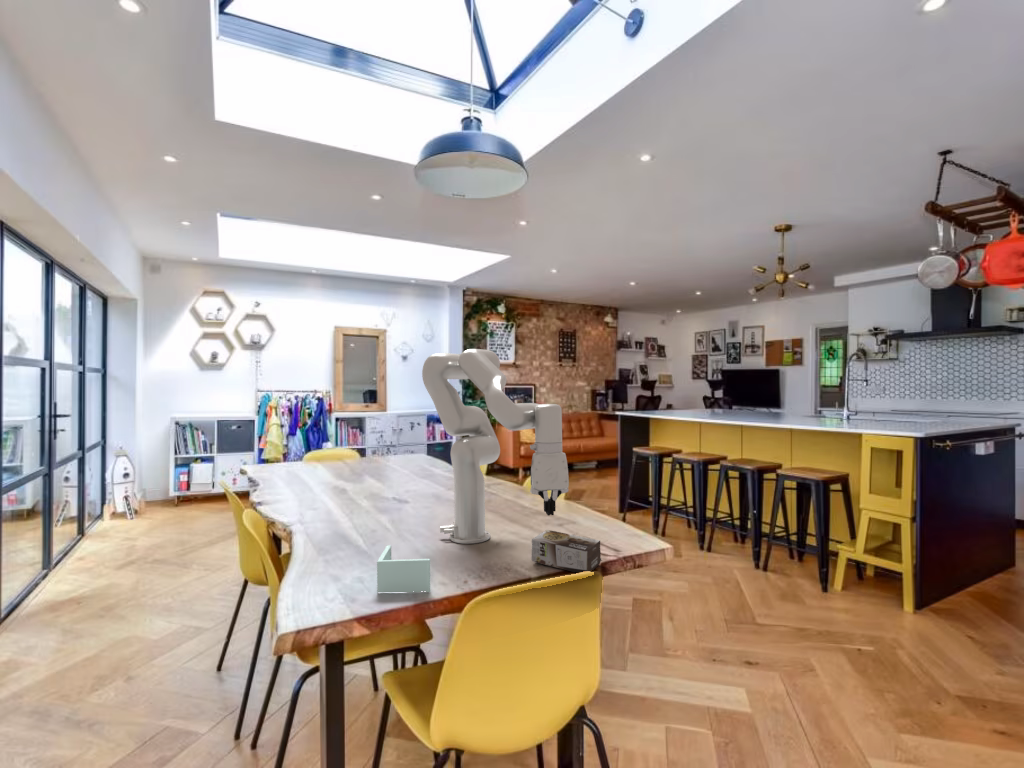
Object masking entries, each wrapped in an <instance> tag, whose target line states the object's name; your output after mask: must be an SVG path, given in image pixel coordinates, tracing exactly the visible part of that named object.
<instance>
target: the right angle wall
mask: <svg viewBox="0 0 1024 768" xmlns="http://www.w3.org/2000/svg"><path fill="white" fill-rule="evenodd" d="M376 579H377V580H376V581H377V582H376V583H377V585H376V586H377V587H376V589H377V590H376V592H413V591H414V592H421V591H423V592H424V591H426V592H430V593H431V558H414V559H413V558H412V559H392V544H388V545H386V546H385V547H384V550H383V551H382V553H381V554H380V556H379V558H378V559H377V561H376Z"/></svg>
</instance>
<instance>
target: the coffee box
mask: <svg viewBox="0 0 1024 768" xmlns="http://www.w3.org/2000/svg"><path fill="white" fill-rule="evenodd" d="M530 559H531V561H532V562H534V563H537V564H541V565H545V566H549V567H553V568H557V569H561V570H564V571H569V572H572V573H575V572H583V571H591V570H593V571H594V570H595V569H596V568H597V567H598V566H599V565H600V564H601V560H602V557H601V540H599V539H595V538H590V537H584V536H580V535H574V534H569V533H565V532H561V531H555V530H550V529H546V530H545V531H543V532H541V533H539V534H538V535H536V536H535V537H533V538H531V557H530ZM600 559H601V560H600Z"/></svg>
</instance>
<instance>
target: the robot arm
mask: <svg viewBox="0 0 1024 768" xmlns="http://www.w3.org/2000/svg"><path fill="white" fill-rule="evenodd" d="M500 366H501V362H500V358H499V356H498V355H497V354H496V352H494V351H493V350H489V349H482V348H481V349H480V348H469V349H466V350H464V351H463V352H461V353H452V352H451V353H449V352H439V353H438V352H437V353H433V354H431V355H429V356H428V357H427V358H425V360H424V363H423V366H422V369H421V370H422V371H421V375H422V376H421V377H422V381H423V384H424V387H425V390H426V391H427V393H428V394H429V396H430V398H431V400H432V402H433V405H434V407H435V410H436V412H437V415H438V418H439V420H440V422H441V423H442V426H443V429H444V431H445V432H446V434H448V435H449V436H451V437H462V438H459V439H457V440H456V441H454V443H453V444H452V446H451V449H450V459H451V466H452V470H453V490H454V491H453V492H454V494H453V495H454V497H453V498H454V500H453V501H454V502H453V503H454V506H453V507H454V521H452V522H453V523H452V524H450V525H440V526H439V532H440V533H443V534H444V535H445V534H449V540H450V541H452V542H453V543H456V544H463V545H467V544H468V545H469V544H471V545H472V544H478V543H484V542H486V541H488V540H489V539H491V533H490V532H489V531H487V530H486V506H485V505H486V502H485V500H486V498H485V497H486V495H485V494H486V493H485V492H486V491H485V490H486V489H485V478H484V474H483V471H482V470H481V466H485V465H489V464H493V463H495V462H496V461H497V460H498V458H499V457H500V454H501V447H500V442H499V440H498V437H497V435H496V432H495V430H494V428H493V426H492V423H491V421H490V419H489V417H488V415H487V413H486V412H485V411H484V410H483V409H482V408H481V407H478V406H475V405H465V404H464V403H463V401H462V398H461V397H460V395H459V392H458V391H457V389H456V388H455V387H454V386H453V384H452V383H450V381H448V380H470V381H471V382H472V383H473V384H474V385H475V386H476V387H477V388H478V389H479V390H480V392H481V393H482V394H483V395H484V400H485V404H486V407H487V410H488V412H489V413H490V414H491V415H492V417H494V419H495V420H496V421H497V422H498V423H499V424H501V425H502V427H504V428H505V429H507V430H510V431H516V432H517V431H523V430H532V429H534V434H535V435H534V436H535V437H534V438H535V439H534V443H533V444H530V445H529V448H530V450H533V451H534V453H533V454H532V457H531V458H532V459H531V465H530V467H531V468H530V490H529V492H530V493H531V495H537V496H540V498H542V499H543V512H544V513H545V514H546V515H547V516H554V515H555V512H556V501H557V499H558V498H559V497H560V496H561V495H563V494H566V493H568V492H570V491H569V486H570V485H569V484H570V483H569V482H570V481H569V478H570V477H569V468H568V467H569V466H568V460H567V455H566V453H565V452H563V413H562V412H563V411H562V410H563V408H562V407H561V405H560V404H556V403H541V404H539V403H535V402H526V403H525V402H522V403H521V402H518V403H515V402H513V400H511V398H509V396H508V395H506V393H505V392H504V391H503V390H504V388H505V387H506V384H507V382H508V381H507V376H506V374H505V373H504V372H503V371H501V369H500ZM463 436H464V437H463ZM548 491H550V496H549V492H548Z"/></svg>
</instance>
